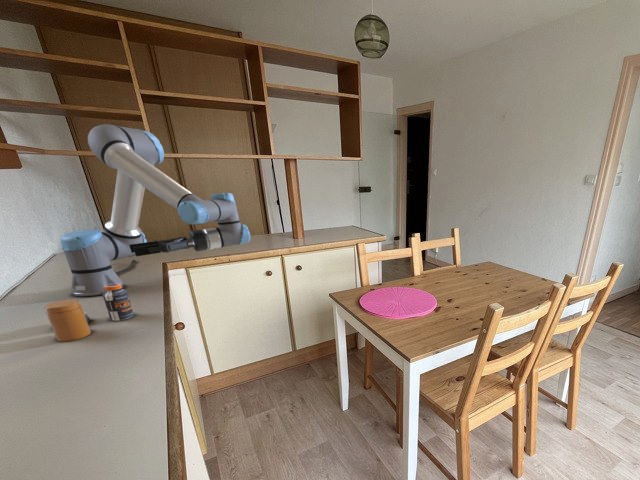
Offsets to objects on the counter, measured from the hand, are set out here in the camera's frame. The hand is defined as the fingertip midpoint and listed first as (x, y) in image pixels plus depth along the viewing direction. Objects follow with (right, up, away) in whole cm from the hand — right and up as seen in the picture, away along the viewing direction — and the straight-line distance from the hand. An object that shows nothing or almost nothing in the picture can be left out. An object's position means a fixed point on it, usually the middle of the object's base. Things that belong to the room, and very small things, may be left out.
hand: (132, 250), depth 101 cm
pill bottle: (-4, -22, +1) cm, 23 cm away
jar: (-7, -27, -11) cm, 30 cm away
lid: (-15, -22, -5) cm, 27 cm away
